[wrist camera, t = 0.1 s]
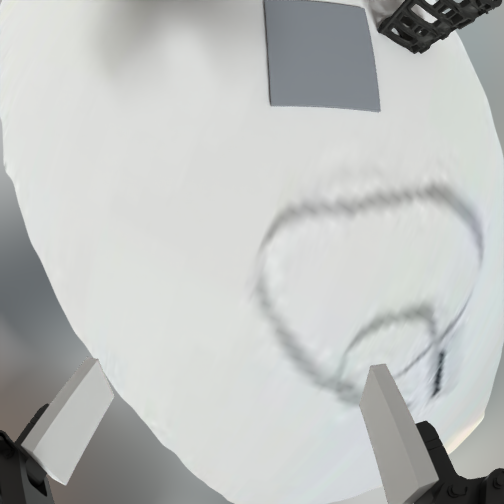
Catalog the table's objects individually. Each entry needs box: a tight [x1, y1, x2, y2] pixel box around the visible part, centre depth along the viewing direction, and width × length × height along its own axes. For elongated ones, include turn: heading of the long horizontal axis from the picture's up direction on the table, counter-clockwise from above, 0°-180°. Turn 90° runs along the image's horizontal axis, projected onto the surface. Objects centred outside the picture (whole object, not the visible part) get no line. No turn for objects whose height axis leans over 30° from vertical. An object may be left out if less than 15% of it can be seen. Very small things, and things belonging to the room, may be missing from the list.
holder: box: [379, 0, 502, 54], centre depth 18 cm, size 11×8×20 cm
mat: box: [265, 0, 381, 112], centre depth 29 cm, size 18×15×1 cm
